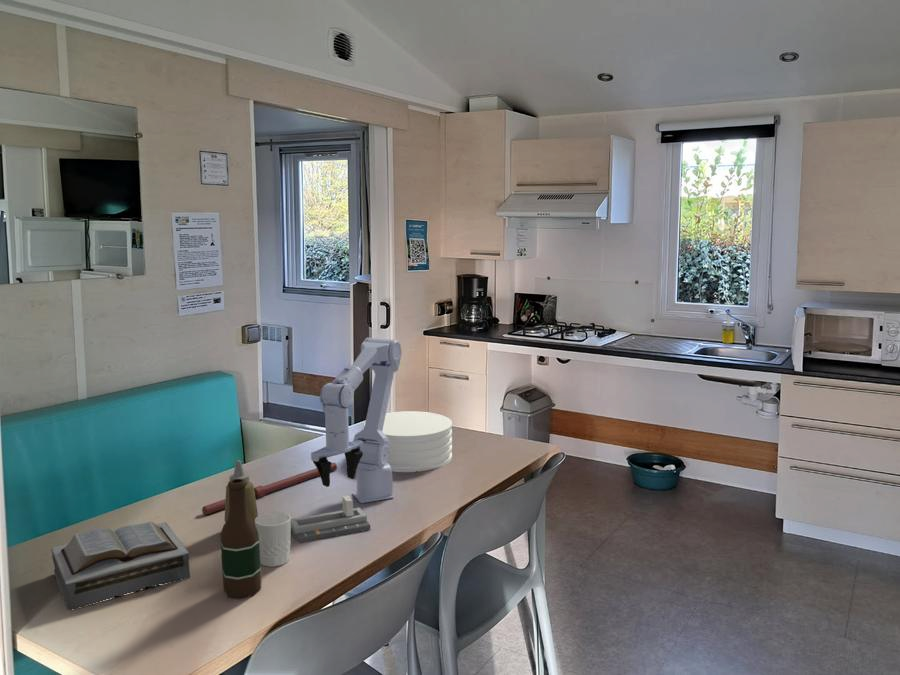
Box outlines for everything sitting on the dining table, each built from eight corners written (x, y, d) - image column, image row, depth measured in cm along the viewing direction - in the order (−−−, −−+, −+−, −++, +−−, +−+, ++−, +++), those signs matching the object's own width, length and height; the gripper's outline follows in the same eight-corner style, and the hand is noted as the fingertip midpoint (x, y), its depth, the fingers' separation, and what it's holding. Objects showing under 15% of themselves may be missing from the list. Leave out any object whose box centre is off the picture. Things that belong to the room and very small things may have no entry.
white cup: (283, 569, 166) (281, 527, 164) (250, 566, 167) (248, 524, 166) (297, 554, 173) (296, 513, 172) (266, 551, 175) (264, 510, 173)
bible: (55, 566, 168) (51, 524, 167) (182, 544, 179) (180, 505, 178) (48, 617, 147) (43, 570, 146) (193, 588, 158) (190, 544, 157)
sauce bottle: (227, 582, 160) (221, 474, 156) (264, 580, 161) (259, 473, 157) (219, 600, 153) (212, 488, 149) (258, 599, 153) (253, 487, 149)
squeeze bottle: (265, 526, 188) (262, 457, 185) (246, 540, 181) (243, 468, 178) (237, 522, 191) (234, 454, 188) (218, 535, 183) (214, 464, 180)
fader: (351, 515, 192) (351, 495, 191) (355, 520, 189) (355, 499, 188) (340, 517, 191) (339, 496, 190) (344, 522, 187) (343, 501, 186)
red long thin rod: (207, 518, 194) (207, 506, 194) (200, 515, 196) (200, 503, 196) (338, 471, 228) (338, 462, 228) (331, 469, 230) (331, 459, 230)
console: (356, 513, 196) (356, 503, 196) (370, 529, 187) (370, 519, 186) (287, 525, 189) (287, 515, 189) (298, 542, 179) (298, 532, 179)
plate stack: (402, 439, 260) (401, 406, 258) (469, 454, 244) (469, 420, 242) (346, 460, 238) (345, 425, 236) (415, 479, 222) (415, 441, 220)
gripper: (351, 421, 197) (352, 470, 199) (303, 432, 187) (305, 484, 189) (367, 427, 192) (368, 477, 194) (319, 439, 182) (321, 492, 184)
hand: (338, 481), depth 191 cm, fingers open, 7 cm apart
